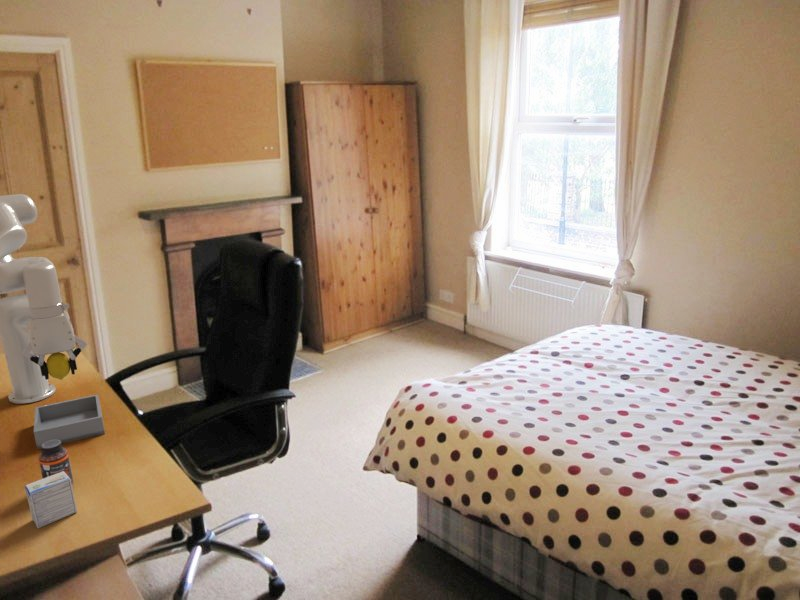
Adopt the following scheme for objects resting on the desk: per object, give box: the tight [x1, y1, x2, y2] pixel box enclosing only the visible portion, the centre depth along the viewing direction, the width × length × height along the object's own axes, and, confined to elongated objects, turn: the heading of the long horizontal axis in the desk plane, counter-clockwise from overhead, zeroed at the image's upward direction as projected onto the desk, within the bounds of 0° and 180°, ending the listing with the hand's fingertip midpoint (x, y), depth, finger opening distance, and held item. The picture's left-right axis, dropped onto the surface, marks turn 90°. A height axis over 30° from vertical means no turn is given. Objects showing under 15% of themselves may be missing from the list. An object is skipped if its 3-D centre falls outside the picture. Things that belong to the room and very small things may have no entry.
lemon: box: [46, 352, 71, 381], centre depth 169 cm, size 6×6×8 cm
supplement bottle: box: [38, 440, 74, 486], centre depth 146 cm, size 6×6×11 cm
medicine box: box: [24, 471, 78, 529], centre depth 136 cm, size 8×4×9 cm, turn 133°
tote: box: [33, 394, 106, 450], centre depth 174 cm, size 16×16×5 cm
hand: (60, 374), depth 170 cm, fingers closed on lemon, 5 cm apart
